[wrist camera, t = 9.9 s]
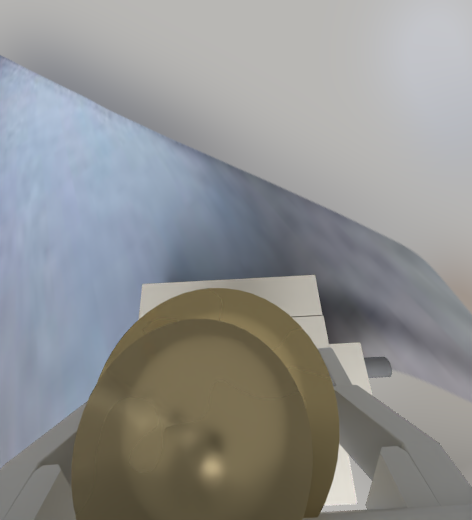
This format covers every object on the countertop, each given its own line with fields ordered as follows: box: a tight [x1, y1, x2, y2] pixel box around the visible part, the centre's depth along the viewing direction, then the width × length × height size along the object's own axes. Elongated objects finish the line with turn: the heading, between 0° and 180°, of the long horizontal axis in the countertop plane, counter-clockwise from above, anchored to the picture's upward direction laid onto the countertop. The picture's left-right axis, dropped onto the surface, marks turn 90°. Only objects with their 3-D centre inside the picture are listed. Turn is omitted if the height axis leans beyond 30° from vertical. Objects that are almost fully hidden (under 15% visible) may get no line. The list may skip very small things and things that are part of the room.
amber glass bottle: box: [71, 288, 340, 520], centre depth 9 cm, size 5×5×14 cm
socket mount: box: [139, 275, 392, 506], centre depth 16 cm, size 16×12×4 cm
